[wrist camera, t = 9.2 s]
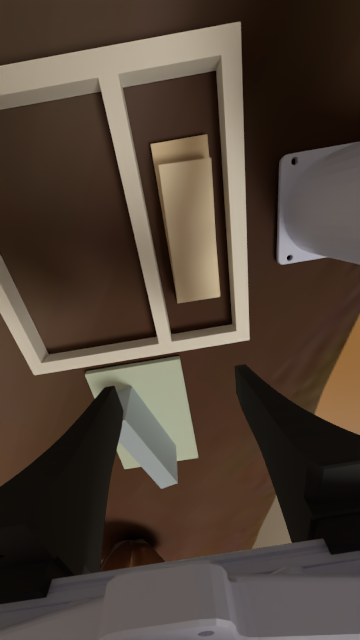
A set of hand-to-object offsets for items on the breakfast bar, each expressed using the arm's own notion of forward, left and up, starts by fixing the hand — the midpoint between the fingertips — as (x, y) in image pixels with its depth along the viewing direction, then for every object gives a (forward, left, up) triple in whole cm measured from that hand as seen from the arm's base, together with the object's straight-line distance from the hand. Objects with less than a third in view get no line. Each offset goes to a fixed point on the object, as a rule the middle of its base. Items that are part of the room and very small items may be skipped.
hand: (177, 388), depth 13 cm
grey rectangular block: (+5, +12, -9) cm, 16 cm away
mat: (+5, +12, -9) cm, 16 cm away
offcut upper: (-3, -7, -9) cm, 12 cm away
